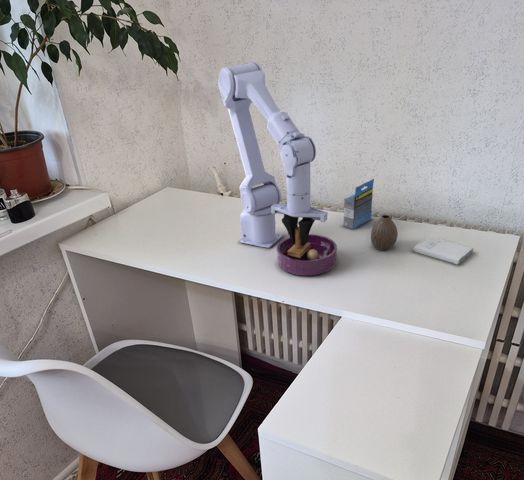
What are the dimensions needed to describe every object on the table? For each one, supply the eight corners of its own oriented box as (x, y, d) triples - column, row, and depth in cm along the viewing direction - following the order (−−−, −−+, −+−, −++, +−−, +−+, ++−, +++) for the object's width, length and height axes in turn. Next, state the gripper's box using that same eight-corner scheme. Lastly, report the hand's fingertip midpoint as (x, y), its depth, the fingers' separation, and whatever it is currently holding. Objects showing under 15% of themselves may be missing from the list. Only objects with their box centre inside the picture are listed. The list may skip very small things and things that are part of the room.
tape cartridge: (360, 216, 153) (363, 175, 146) (371, 219, 151) (374, 178, 144) (342, 226, 149) (344, 184, 141) (353, 229, 146) (355, 187, 139)
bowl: (267, 270, 131) (266, 254, 128) (293, 245, 141) (293, 230, 138) (321, 282, 124) (321, 266, 121) (345, 255, 134) (346, 240, 132)
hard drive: (457, 265, 127) (412, 252, 134) (472, 253, 131) (428, 240, 138) (458, 259, 126) (413, 246, 133) (473, 247, 130) (429, 235, 137)
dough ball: (304, 261, 132) (304, 251, 130) (309, 256, 134) (309, 246, 132) (315, 263, 130) (315, 253, 129) (320, 258, 132) (320, 248, 131)
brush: (287, 262, 131) (286, 232, 126) (298, 251, 136) (298, 222, 131) (300, 265, 130) (299, 234, 125) (310, 254, 134) (310, 224, 129)
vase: (396, 253, 134) (399, 222, 128) (369, 252, 135) (371, 221, 130) (396, 242, 139) (399, 211, 133) (370, 241, 140) (372, 210, 135)
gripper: (333, 189, 122) (331, 241, 130) (279, 182, 128) (281, 232, 136) (320, 200, 117) (320, 253, 125) (265, 191, 123) (268, 243, 131)
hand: (299, 243), depth 130 cm, fingers closed on brush, 2 cm apart
